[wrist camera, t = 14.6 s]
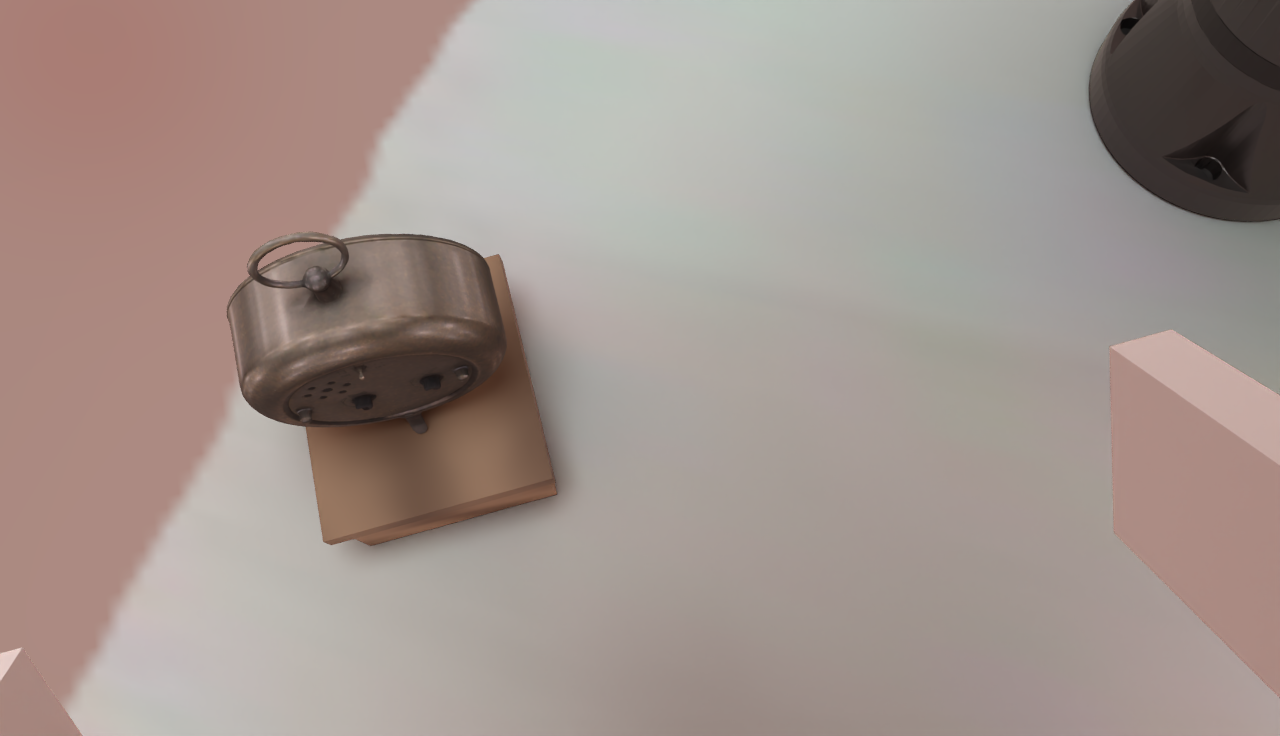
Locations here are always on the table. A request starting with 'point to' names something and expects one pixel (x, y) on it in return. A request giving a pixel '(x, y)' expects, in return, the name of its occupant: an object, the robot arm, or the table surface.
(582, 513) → the table surface
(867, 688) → the table surface
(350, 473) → the walnut stand
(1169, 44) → the robot arm
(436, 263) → the alarm clock
